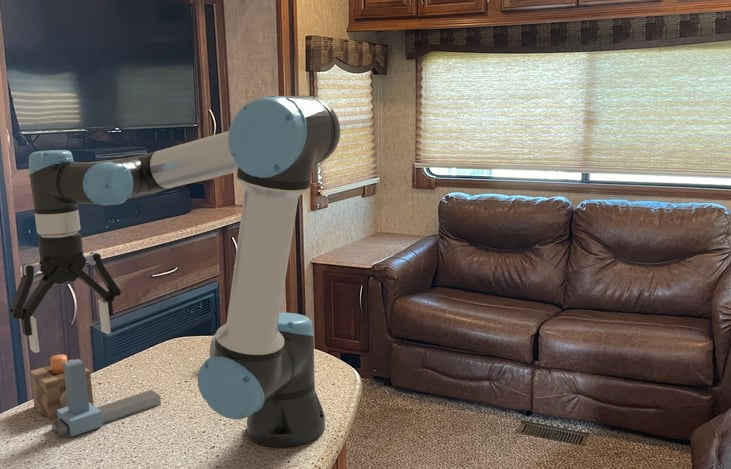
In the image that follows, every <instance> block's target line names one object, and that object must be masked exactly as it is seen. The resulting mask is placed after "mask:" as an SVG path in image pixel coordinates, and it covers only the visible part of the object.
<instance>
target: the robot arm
mask: <svg viewBox="0 0 731 469" xmlns="http://www.w3.org/2000/svg"><path fill="white" fill-rule="evenodd" d="M340 138H341V124H340V121H339V117H338V116H337V114H336V112H335V110H334V109H333V108H332V107H331V106H330V105H329V104H328V103H327V102H325V101H324V100H323V99H320V98H318V97H315V96H312V95H275V94H274V95H273V94H272V95H267V96H265V97H261V98H257V99H253V100H251V101H249V102H247V103H246V104H245V105H243V106H242V107H241V108H239V110H238V111H237V112H236V114H235V115H234V117H233V119H232V121H231V124H230V126H229V130H228V131H224V132H221V133H217V134H213V135H210V136H207V137H203V138H200V139H199V138H198V139H196V140H193V141H189V142H185V143H180V144H178V145H174V146H171V147H167V148H162V149H160V150H156V151H153V152H148V153H145V154H140V155H136V156H131V157H125V158H124V157H123V158H114V159H108V160H101V161H91V162H90V161H88V162H87V161H84V162H83V161H82V162H81V161H79V162H77V161H75V160H74V158H73V153H72V152H71V151H70V150H65V149H64V150H63V149H57V150H56V149H55V150H53V149H52V150H51V149H50V150H40V151H34V152H32V153H30V154H29V155H28V156H29V157H28V170H29V171H28V173H29V174H28V178H29V180H30V188H31V196H32V203H33V204H32V205H33V212H34V218H35V227H36V233H37V234H38V235H39V236H38V237H37V244H38V252H39V263H38V264H28V263H24V264H22V267H21V268H22V272H21V273H22V274H21V278H20V280H19V284H18V287H17V289H16V292H15V294H14V298H12V299H13V300H12V302H11V305H10V307H9V310H8V315H9V316H10V317H12V318H13V319H15V320H16V319H20V321H21V322H20V323H21V330H22V333H23V335H24V336H25V337H28V340H29V348H30V351H32V352H33V353H35V354H37V353H40V352H41V351H40V344H39V336H38V335H39V334H38V327H37V319H36V317H34V316H33V315H34V313H35V312H36V310H37V308H38V307H39V305H40V304H41V302H42V301H43V299H44V298H45V296H46V295H47V293H48V292H49V290H50V289H52V288H53V286H54V284H57V285H61V284H65V283H66V282H70V283H71V282H75V281H76V280H78V279H79V280H80V281H81V282H82V283H83V284H85V285H87V286H88V287H89V288H90V289H91V290H93V292H94V293H95V294H97V295H98V296H100V298H102V299H98V301H97V302H98V313H99V321H100V329H101V333H104V334H106V335H110V334H112V331H111V322H110V321H111V320H110V317H111V316H113V314H114V309H113V301H115V298H116V297H119V296H120V295H121V294H122V291H121V289H120V288H119V286H118V285H117V284H116V282H115V280H114V279H113V277H112V276H111V275H110V273H109V272H108V270H107V269H106V267H105V266H104V264H103V262H102V257H101V254H100V253H97V252H95V251H91V252H90V253H89V254H87V255H84V250H83V249H84V247H83V238H82V233H80V232H79V231H81V229H82V228H81V222H80V221H81V220H80V213H79V204H88V205H100V206H105V207H106V206H111V205H112V206H114V205H121V204H123V203H125V202H126V201H127V200H128V199H129V198H133V197H139V196H144V195H149V194H154V193H155V194H156V193H161V192H162V191H164V190H165V191H166V190H167V189H172V188H175V187H180V186H184V185H185V186H186V185H188V184H192V183H197V182H201V181H204V180H208V179H209V180H210V179H214V178H217V177H221V176H225V175H229V174H230V175H231V174H234V173H236V179H237V180H238V181H239V183H240V184H241V185H242V187H243V188H244V194H243V201H242V206H241V207H242V210H241V215H240V216H241V217H240V222H239V232H238V237H237V245H236V251H235V253H236V254H235V259H234V267H233V276H232V283H231V290H230V296H229V304H228V310H227V318H226V323H224V324H223V325H222V326H220V327H219V328H218V329H217V330H216V333H215V334H216V337H215V344H214V352H213V356H212V357H211V358H210V357H209V358H207V359H206V360H205V361H204V362H203V363H202V365H201V366H200V368H199V369H198V373H197V386H198V390H199V393H200V395H201V398H202V399H203V400H204V401H206V403H207V406H208V407H209V408H210V409H211V410H212V411H214V412H215V413H216V414H218V415H220V416H221V417H224V418H227V419H231V420H243V419H246V418H247V420H246V433H247V436H248V437H249V439H250V440H251V441H253V442H254V443H256V444H258V445H261V446H265V447H270V448H291V447H297V446H302V445H305V444H308V443H311V442H313V441H314V440H316V439H318V438H320V436H321V435H323V433H324V431H325V429H326V416H325V413H324V410H323V407H322V404H321V402H320V399H319V397H318V394H317V390H316V384H315V382H316V381H315V376H316V375H315V348H314V346H315V345H314V343H315V342H314V337H315V334H314V328H313V322H312V319H310V318H309V317H308V316H306V315H303V314H299V313H293V312H281V309H282V302H283V296H284V290H285V284H286V277H287V272H288V271H287V270H288V266H289V258H290V253H291V252H290V251H291V248H292V246H291V245H292V240H293V234H294V229H295V228H294V227H295V221H296V215H297V207H298V202H299V197H301V196H302V195H303V194H304V193H306V192H307V191H308V190H309V189H310V188H311V182H312V181H311V180H312V175H313V169H314V166H315V165H318V164H320V163H322V162H324V161H326V160H327V159H328V158H329V157H330V156H331V155H332V154H333V153H334V152H335V151H336V149H337V146H339V145H338V144H339V142H340ZM86 264H88V265H89V266H90V265H91V267H93V269H94V271H95V272H96V274H97V275H98V277H99V278H100V279H101V281H102V283H103V284H104V285H105V287H106V289H107V290H108V291H107V290H106V289H104V288H103V287H102V286H101V285H99V283H98V282H97V281H95V280H94V279H93V278H92V277H90V276H89V274H87V273H86V271H84V270H83V269H84V268H85V265H86ZM39 271H40V272H41V273H42V277H41V278H40V279H39V283H38V285H37V286H36V288H35V289H34V291H33V292H32V293H31V295H30V296H29V292H30V290H31V287H32V286H33V282H34V278H35V277H36V276H37V274H38V272H39ZM28 296H29V298H28ZM27 298H28V300H27Z"/></svg>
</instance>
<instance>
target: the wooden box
mask: <svg viewBox="0 0 731 469" xmlns="http://www.w3.org/2000/svg"><path fill="white" fill-rule="evenodd" d="M72 360H75V359H69V360H67V362H69V361H72ZM85 372H86V381H87V391H88V400H89V402H90V403H91V404H92V405H94V406H95V404H94V396H93V388H92V378H91V377H92V376H91V375H92V374H91V370H90V369H89V368H87V367H86V366H85ZM29 373H30V374H29V375H30V381H31V388H32V390H31V391H32V396H33V397H32V398H33V405H34V408H36V409H37V410H38V411H39V412H40V413H41V414H42V415H44V416H45V417H46V418H47V419H48V420H50V421H51V420H55V419H58V416H57V410H58V409H61V408H64V407H68V403H67V394H66V385H65V376H64V373H63V374H59V375H54V374H52V370H51V364H50V365H47V366H43V367H39V368H36V369H31V370H29Z"/></svg>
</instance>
